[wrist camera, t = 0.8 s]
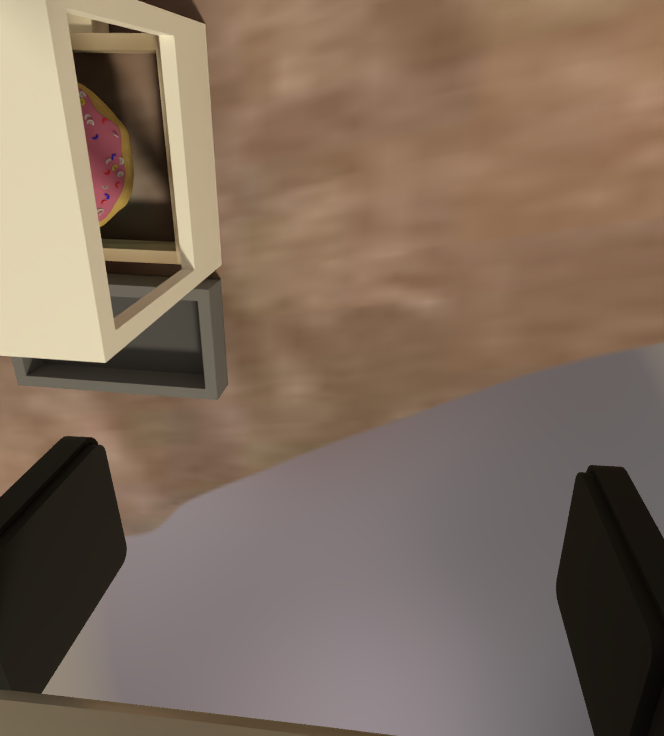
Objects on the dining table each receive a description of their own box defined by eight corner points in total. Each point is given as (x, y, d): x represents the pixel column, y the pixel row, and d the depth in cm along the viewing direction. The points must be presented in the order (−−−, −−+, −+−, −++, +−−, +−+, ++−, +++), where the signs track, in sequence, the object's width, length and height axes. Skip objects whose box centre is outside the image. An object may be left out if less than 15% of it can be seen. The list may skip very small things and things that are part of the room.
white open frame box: (-41, 24, 35) (-367, -29, 20) (205, 24, 33) (39, -35, 19) (10, 254, 41) (-215, 340, 26) (221, 264, 39) (105, 363, 25)
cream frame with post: (-64, -140, 31) (-304, -259, 21) (170, -149, 30) (36, -282, 19) (19, 246, 40) (-121, 298, 30) (203, 255, 39) (123, 312, 28)
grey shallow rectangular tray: (15, 268, 41) (-8, 278, 39) (220, 279, 40) (208, 289, 37) (38, 370, 45) (18, 385, 42) (228, 384, 43) (217, 400, 41)
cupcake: (10, 104, 37) (-161, 107, 26) (124, 54, 35) (-9, 33, 24) (75, 235, 40) (-53, 286, 29) (184, 196, 38) (90, 235, 27)
